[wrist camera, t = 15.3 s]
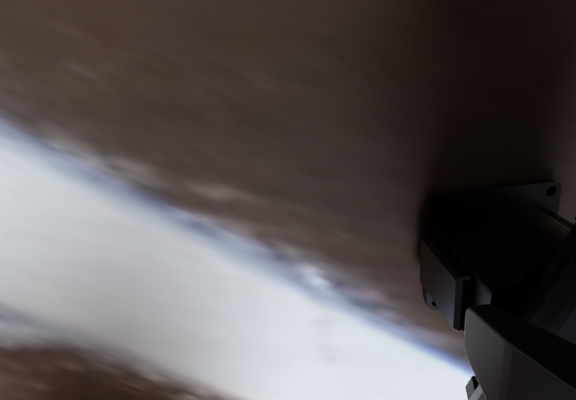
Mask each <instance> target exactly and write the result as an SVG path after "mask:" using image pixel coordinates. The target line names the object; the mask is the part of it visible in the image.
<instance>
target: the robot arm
mask: <svg viewBox="0 0 576 400" xmlns="http://www.w3.org/2000/svg"><path fill="white" fill-rule="evenodd" d="M549 187H551V189H550V191H549V192H548V193H546V191H547V189H548V188H549ZM560 195H561V186H560V184H559V183H557V182H555V181H554V180H552V179H543V180H534V181H526V182H518V183H510V184H501V185H493V186H485V187H477V188H468V189H460V190H452V191H444V192H436V193H433V194H432V195H430V196H429V198H428V199H427V207H426V234H425V235H424V236H423V237H422V239H421V261H420V281H421V283H422V285H423V286H424V301H425V303H426V305H427V306H428V307H429V309H432V310H439V309H440V311H441V312H442V314H443V315H444V317H445V318H446V319H447V321H448V322H449V324H450V325H451V327H452V328H453V329H455V330H456V331H457V332H462V331H464V349H465V353H466V356H467V358H468V360H469V363H470V365H471V367H472V369H473V371H474V374H475V376H472V377H471V379H470V380H469V382H468V384H467V385H466V392H467V396H468V400H576V223H575V225H574V224H572V223H571V222H569V221H568V220H566V219H564V218H563V217H561V216H559V215H558V208H559V201H560ZM439 200H442V203H441V204H440V205H439V206H437V207H435V203H436V202H437V201H439ZM575 220H576V217H575ZM432 300H433V301H434V302H432Z"/></svg>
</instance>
